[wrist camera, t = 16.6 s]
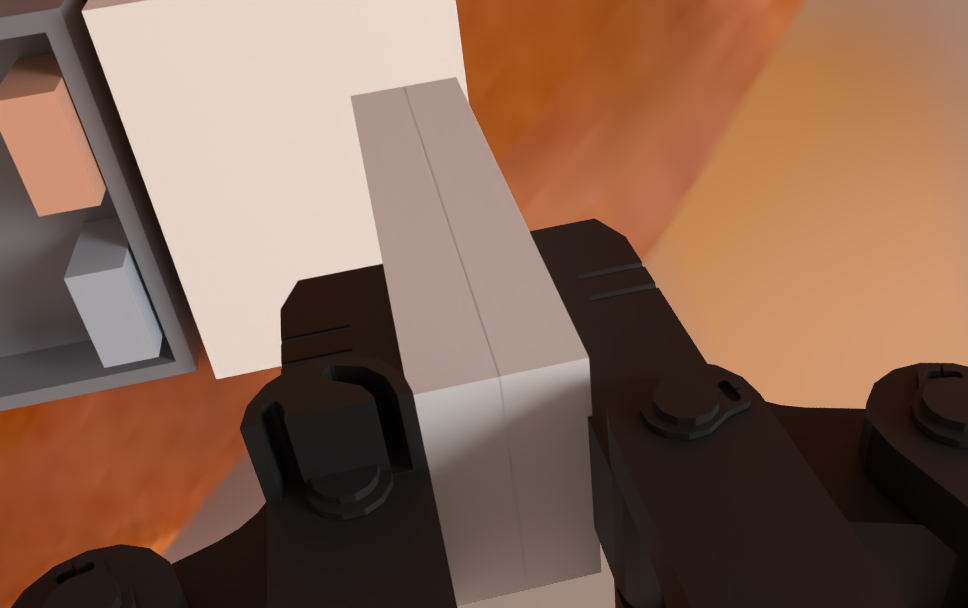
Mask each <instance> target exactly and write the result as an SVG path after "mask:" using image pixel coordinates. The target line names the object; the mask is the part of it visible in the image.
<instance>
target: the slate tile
mask: <svg viewBox="0 0 968 608" xmlns="http://www.w3.org/2000/svg"><path fill="white" fill-rule="evenodd" d="M64 280H65V282H66V285H67V287H68V289H69V291H70V293H71V296H72V298H73V300H74V302H75V304H76V307H77V309H78V311H79V313H80V315H81V318H82V320H83V322H84V324H85V326H86V329H87V331H88V333H89V335H90V337H91V340H92V342H93V344H94V346H95V348H96V351H97V353H98V355H99V357H100V359H101V362H102V364H103V366H104V368H106V367H111V366H116V365H121V364H126V363H131V362H136V361H141V360H146V359H151V358H156V357H159V353H160V347H161V341H162V335H163V327H162V325H161V322H160V320H159V317H158V315H157V312H156V310H155V307H154V304H153V302H152V299H151V297H150V294H149V292H148V289H147V287H146V284H145V282H144V279H143V277H142V274H141V272H140V269H139V266H138V264H137V261H136V259H135V256H134V254H133V251H132V249H131V246H130V244H129V241H128V239H127V236H126V234H125V231H124V228H123V226H122V223H121V221H120V218H119V217H114V218H108V219H103V220H98V221H92V222H87V223H83V225H82V228H81V231H80V234H79V237H78V240H77V243H76V245H75V248H74V251H73V254H72V257H71V260H70V263H69V265H68V268H67V271H66V274H65V277H64Z"/></svg>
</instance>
